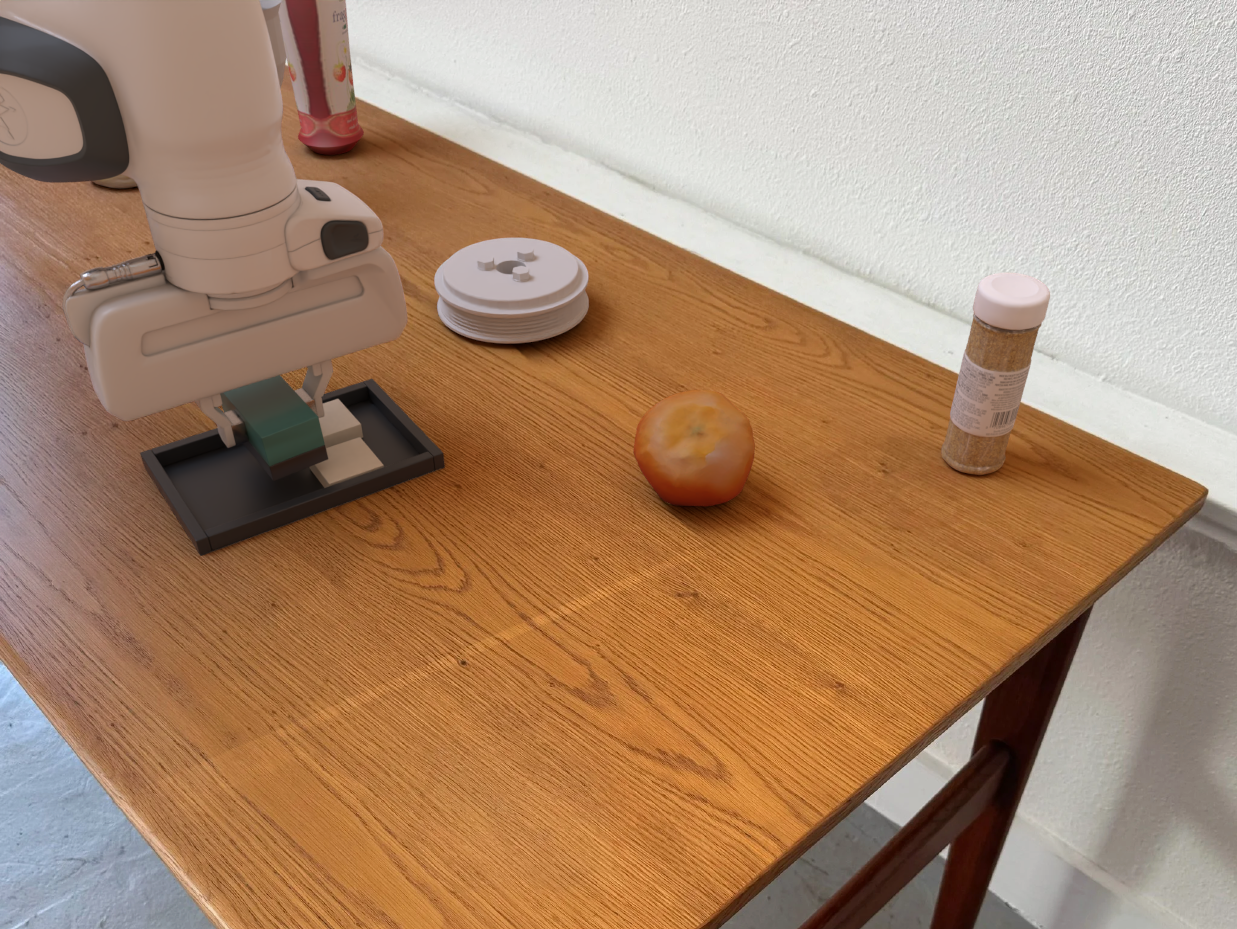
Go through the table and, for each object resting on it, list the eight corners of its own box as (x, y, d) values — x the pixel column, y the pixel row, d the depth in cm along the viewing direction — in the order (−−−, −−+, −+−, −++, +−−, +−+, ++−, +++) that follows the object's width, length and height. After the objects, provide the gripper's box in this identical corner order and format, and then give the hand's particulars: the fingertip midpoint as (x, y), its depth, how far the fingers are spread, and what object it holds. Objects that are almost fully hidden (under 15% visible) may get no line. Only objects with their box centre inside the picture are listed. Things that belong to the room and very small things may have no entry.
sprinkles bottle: (986, 437, 86) (1031, 266, 77) (1015, 473, 83) (1065, 299, 74) (928, 445, 86) (966, 273, 77) (955, 481, 82) (998, 306, 73)
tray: (202, 561, 76) (195, 540, 75) (145, 472, 83) (139, 452, 82) (445, 472, 83) (443, 452, 82) (375, 397, 90) (372, 378, 89)
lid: (531, 370, 93) (527, 312, 90) (407, 326, 98) (400, 270, 95) (617, 304, 101) (617, 249, 97) (499, 266, 106) (495, 212, 102)
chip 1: (311, 455, 84) (308, 441, 83) (289, 428, 86) (286, 414, 85) (363, 437, 85) (361, 423, 84) (340, 412, 88) (338, 398, 87)
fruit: (747, 426, 85) (758, 373, 77) (747, 529, 83) (758, 486, 75) (635, 423, 85) (635, 370, 77) (632, 526, 83) (631, 483, 75)
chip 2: (331, 497, 80) (328, 483, 79) (309, 468, 82) (306, 454, 82) (386, 479, 82) (383, 464, 81) (362, 450, 84) (360, 436, 83)
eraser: (329, 459, 80) (318, 416, 77) (273, 481, 78) (261, 438, 76) (280, 405, 84) (269, 363, 82) (227, 425, 83) (214, 382, 80)
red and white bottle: (360, 161, 123) (314, -156, 104) (291, 160, 123) (231, -157, 104) (373, 134, 128) (331, -172, 109) (306, 133, 128) (252, -173, 109)
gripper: (68, 302, 65) (136, 503, 74) (405, 214, 73) (427, 405, 83) (37, 257, 68) (106, 454, 78) (361, 179, 77) (387, 365, 86)
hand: (273, 428), depth 80 cm, fingers closed on eraser, 4 cm apart
